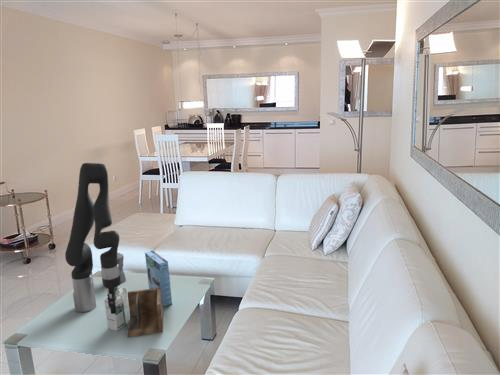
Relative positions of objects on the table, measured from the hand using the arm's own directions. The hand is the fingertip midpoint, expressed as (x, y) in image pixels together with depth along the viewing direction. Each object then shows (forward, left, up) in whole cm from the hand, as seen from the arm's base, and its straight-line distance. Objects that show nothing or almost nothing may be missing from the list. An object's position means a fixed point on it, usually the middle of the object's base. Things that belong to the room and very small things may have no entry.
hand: (114, 308), depth 178 cm
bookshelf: (+13, -2, -9) cm, 16 cm away
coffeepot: (-5, +48, -9) cm, 49 cm away
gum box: (+19, +22, -9) cm, 31 cm away
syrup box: (0, 0, -9) cm, 9 cm away
